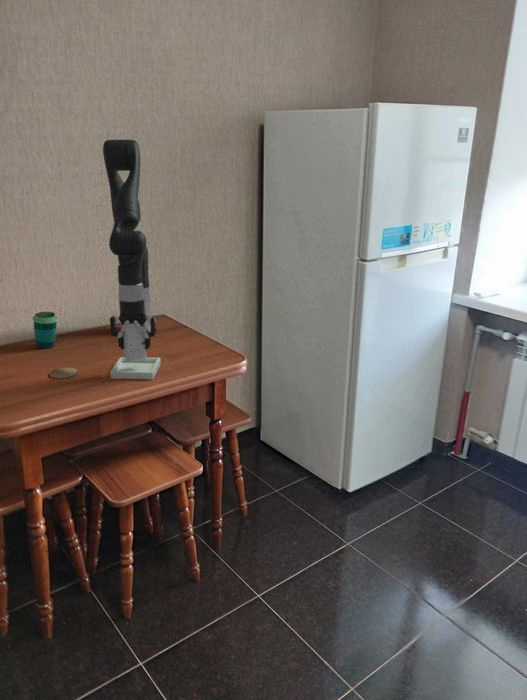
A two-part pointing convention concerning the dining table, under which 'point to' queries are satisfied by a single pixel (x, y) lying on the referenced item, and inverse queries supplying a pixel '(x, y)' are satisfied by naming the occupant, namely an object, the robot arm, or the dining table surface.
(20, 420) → the dining table surface
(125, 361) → the tray
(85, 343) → the dining table surface
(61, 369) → the coaster
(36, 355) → the dining table surface
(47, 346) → the cup
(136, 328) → the skincare box
